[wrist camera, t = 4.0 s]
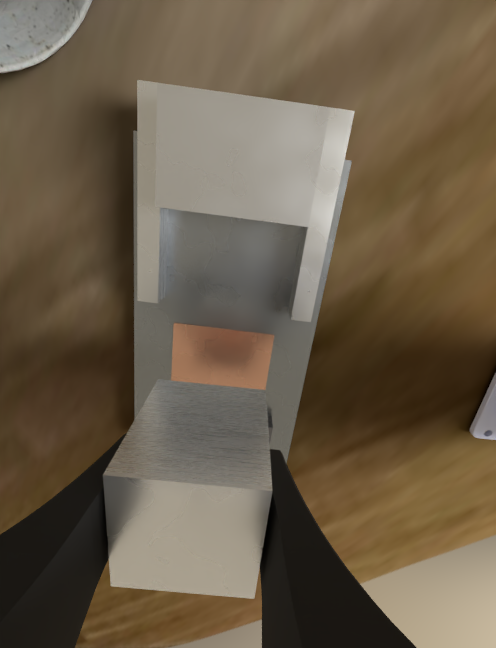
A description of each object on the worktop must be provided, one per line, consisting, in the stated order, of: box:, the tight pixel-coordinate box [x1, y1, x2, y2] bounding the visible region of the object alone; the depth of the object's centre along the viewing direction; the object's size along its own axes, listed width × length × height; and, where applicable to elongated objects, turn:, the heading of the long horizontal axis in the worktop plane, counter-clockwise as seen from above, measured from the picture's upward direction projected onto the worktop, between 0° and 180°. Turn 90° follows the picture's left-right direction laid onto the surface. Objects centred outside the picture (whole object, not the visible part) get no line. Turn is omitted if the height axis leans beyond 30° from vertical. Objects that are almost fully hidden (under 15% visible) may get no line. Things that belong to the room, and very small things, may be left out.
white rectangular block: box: [103, 379, 272, 599], centre depth 11 cm, size 4×4×5 cm
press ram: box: [155, 83, 330, 227], centre depth 13 cm, size 6×4×3 cm, turn 83°
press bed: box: [133, 80, 355, 463], centre depth 17 cm, size 10×20×3 cm, turn 173°
